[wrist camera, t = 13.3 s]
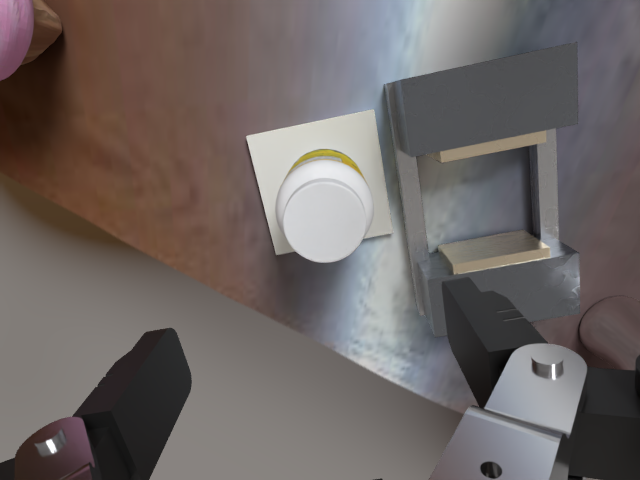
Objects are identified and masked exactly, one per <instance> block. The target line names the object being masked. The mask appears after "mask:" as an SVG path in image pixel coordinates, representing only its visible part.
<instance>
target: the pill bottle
mask: <svg viewBox="0 0 640 480" xmlns="http://www.w3.org/2000/svg"><path fill="white" fill-rule="evenodd" d="M275 212H276V219H277V223H278V226H279V228H280V230H281V232H282V234H283V235H284V237H285V238H286V239H287V241H288V243H289V244H290V246H291V247H292V248H293V249H294V250H295V251H296V252H297V253H298V254H299V255H301V256H302V257H304V258H306V259H308V260H311V261H314V262H319V263H330V262H335V261H339V260H341V259H343V258H346V257H347V256H349V255H350V254H351V253H353V252H354V251H355V250H356V249H357V247H358V246H359V245H360V243H361V242H362V240H363V238H364V237H365V236H366V234H367V233H368V231H369V229H370V226H371V224H372V220H373V215H374V202H373V197H372V193H371V190H370V188H369V186H368V184H367V182H366V180H365V178H364V176H363V174H362V173H361V171H360V169H359V167H358V166H357V164H356V163H355V162H354V161H353V160H352V159H351V158H350V157H348V156H347V155H346V154H344V153H342V152H340V151H337V150H333V149H317V150H313V151H310V152H308V153H306V154H304V155H303V156H301V157H300V158H299V159H298V160H297V161H296V162H295V163H294V164H293V166H292V167H291V169H290V170H289V172H288V174H287V175H286V177H285V179H284V181H283V183H282V185H281V186H280V189H279V191H278V194H277V198H276V206H275Z"/></svg>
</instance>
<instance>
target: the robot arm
mask: <svg viewBox="0 0 640 480" xmlns="http://www.w3.org/2000/svg"><path fill="white" fill-rule="evenodd" d="M442 296H443V304H444V313H445V321H446V329H447V335H448V340H449V343H450V347H451V349H452V352H453V354H454V356H455V358H456V360H457V362H458V364H459V366H460V368H461V370H462V372H463V374H464V376H465V378H466V380H467V382H468V384H469V386H470V388H471V391H472V393H473V395H474V397H475V399H476V401H477V403H478V405H479V407H477V406H474V405H472V406H470V407H469V408H468V409H467V411H466V413H465V414H464V416H463V418H462V420H461V422H460V423H459V426H458V427H457V429H456V431H455V433H454V435H453V436H452V438H451V440H450V442H449V443H448V445H447V447H446V449H445V451H444V452H443V454H442V456H441V458H440V460H439V462H438V464H437V465H436V467H435V469H434V471H433V473H432V475H431V476H430V478H429V480H586V479H587V478H594V479H600V480H640V355H639V356H638V357H637V359H636V364H635V370H619V369H602V368H593V367H588V366H587V365H586V363H585V361H584V360H583V358H582V357H581V356H579V355H578V354H577V353H575V352H573V351H572V350H569V349H567V348H565V347H562V346H558V345H553V344H548V343H547V342H546V340H545V339H544V338H543V337H542V336H541V335H540V334H539V333H538V331H537V330H536V329H535V328H534V327H533V326H532V325H531V324H530V323H529V321H528V320H527V319H526V318H524V316H523V315H522V314H521V313H520V311H519V310H517V309H516V307H515V306H514V305H513V304H512V302H511V301H510V300H509V299H508V298H507V297H505V296H503V295H501V294H498V293H496V292H494V291H492V290H491V291H485V292H481V291H480V290H479V289H478V288H477V286H476V285H475V284H474V282H473V281H472V280H471V279H470V278H469V277H465V278H459V279H453V280H448V281H443V282H442ZM191 383H192V380H191V372H190V369H189V366H188V363H187V360H186V358H185V355H184V352H183V349H182V347H181V344H180V341H179V338H178V335H177V333H176V331H175V330H174V329H172V328H166V329H160V330H154V331H149V332H146V333H144V335H143V336H142V337H141V338H140V340H139V341H138V342H137V344H136V345H135V346H134V347H133V349H132V350H131V351H130V352H128V353H127V354H126V355H124V356H123V357H122V358H121V359H119V360H118V361H117V362H115V364H114V365H113V366H112V367H111V369H110V370H109V371H108V372H107V374H106V377H103V379H102V380H101V381H100V382H99V384H98V387H95V389H94V390H93V391H92V392H91V394H90V395H89V396H88V397H87V399H86V400H85V401H84V402H83V404H82V405H81V406H80V407H79V409H78V410H77V411H76V412H75V414H74V415H73V416H72V417H67V418H63V419H59V420H57V421H54V422H52V423H50V424H48V425H46V426H44V427H43V428H41V429H39V430H38V431H36V432H35V433H34V434H32V435H31V436H30V437H29V438H28V439H26V440H25V441H24V443H23V444H22V445H21V446H20V447H19V449H18V450H17V452H16V454H15V458H13V459H10V460H7V461H4V462H2V463H0V480H149V479H150V476H151V474H152V472H153V470H154V468H155V466H156V464H157V461H158V459H159V457H160V455H161V453H162V451H163V449H164V446H165V444H166V442H167V440H168V437H169V436H170V434H171V432H172V429H173V427H174V425H175V423H176V421H177V419H178V417H179V414H180V412H181V410H182V408H183V406H184V404H185V401H186V399H187V397H188V395H189V393H190V390H191ZM375 480H382V479H375Z"/></svg>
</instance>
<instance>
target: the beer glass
mask: <svg viewBox="0 0 640 480" xmlns="http://www.w3.org/2000/svg"><path fill="white" fill-rule="evenodd" d="M579 335H580V339H581V342H582V343H583V345H584V346H585V347H586V349H588V350H589V351H590V352H591V353H593V354H594V355H596V356H598V357H599V358H601V359H603V360H604V361H606V362H607V363H609V364H610V365H611V366H612V367H614V368H615V369H619V370H635V364H636V359H637V357H638V356H639V355H640V301H638V300H637V299H634V298H632V297H628V296H614V297H609V298H606V299H604V300H602V301H600V302H598V303H596V304H595V305H594V306H592V307H591V308H590V309H589V310H588V311H587V312H586V314H585V315H584V317H583V319H582V321H581V323H580V328H579Z"/></svg>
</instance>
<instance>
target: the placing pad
mask: <svg viewBox="0 0 640 480" xmlns="http://www.w3.org/2000/svg"><path fill="white" fill-rule="evenodd" d="M246 138H247V142H248V146H249V150H250V154H251V158H252V162H253V166H254V170H255V174H256V178H257V181H258V185H259V189H260V193H261V197H262V201H263V205H264V209H265V213H266V217H267V221H268V225H269V229H270V233H271V237H272V241H273V245H274V249H275V253H276V255H280V254H285V253H290V252H296V251H295V250H294V249H293V248H292V247H291V246H290V244H289V243H288V241H287V239H286V238H285V237H284V235H283V234H282V232H281V230H280V228H279V226H278V223H277V219H276V212H275V206H276V198H277V194H278V191H279V189H280V186H281V185H282V183H283V181H284V179H285V177H286V175H287V174H288V172H289V170H290V169H291V167H292V166H293V164H294V163H295V162H296V161H297V160H298V159H299V158H300V157H301V156H303V155H304V154H306V153H308V152H310V151H313V150H317V149H333V150H337V151H340V152H342V153H344V154H346V155H347V156H348V157H350V158H351V159H352V160H353V161H354V162H355V163H356V164H357V166H358V167H359V169H360V171H361V173H362V174H363V176H364V178H365V180H366V182H367V184H368V186H369V188H370V190H371V193H372V197H373V202H374V215H373V220H372V224H371V226H370V229H369V231H368V233H367V234H366V236H365V237H364V238H363V239H365V238H370V237H376V236H381V235H386V234H392V233H393V228H392V221H391V215H390V208H389V202H388V196H387V189H386V183H385V176H384V170H383V164H382V157H381V151H380V145H379V138H378V132H377V125H376V119H375V113H374V109H371V110H367V111H362V112H357V113H353V114H348V115H343V116H338V117H334V118H329V119H324V120H319V121H315V122H310V123H305V124H301V125H296V126H291V127H286V128H282V129H277V130H272V131H267V132H263V133H258V134H253V135H249V136H246Z"/></svg>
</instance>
